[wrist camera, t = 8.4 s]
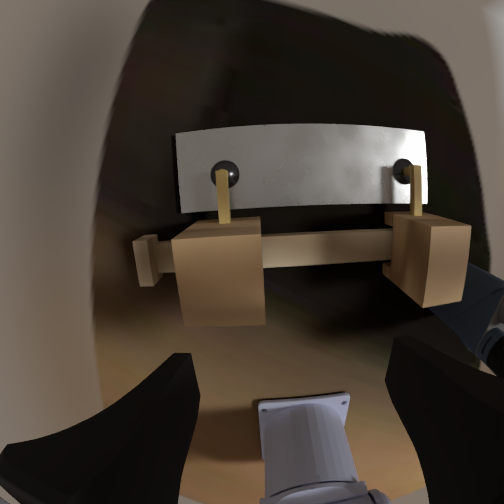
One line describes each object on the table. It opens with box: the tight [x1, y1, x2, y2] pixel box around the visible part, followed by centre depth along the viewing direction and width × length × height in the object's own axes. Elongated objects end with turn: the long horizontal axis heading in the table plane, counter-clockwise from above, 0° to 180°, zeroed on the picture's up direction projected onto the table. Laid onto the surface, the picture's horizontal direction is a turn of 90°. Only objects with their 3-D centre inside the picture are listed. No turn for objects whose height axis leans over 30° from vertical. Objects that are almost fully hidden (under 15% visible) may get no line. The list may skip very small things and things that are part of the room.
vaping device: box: [428, 263, 504, 378], centre depth 13 cm, size 3×5×12 cm, turn 162°
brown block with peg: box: [171, 169, 266, 327], centre depth 15 cm, size 8×4×6 cm, turn 4°
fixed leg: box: [382, 165, 471, 308], centre depth 15 cm, size 8×3×6 cm, turn 4°
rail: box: [132, 228, 393, 286], centre depth 18 cm, size 3×22×2 cm, turn 94°
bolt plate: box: [176, 124, 427, 213], centre depth 17 cm, size 5×17×1 cm, turn 94°
